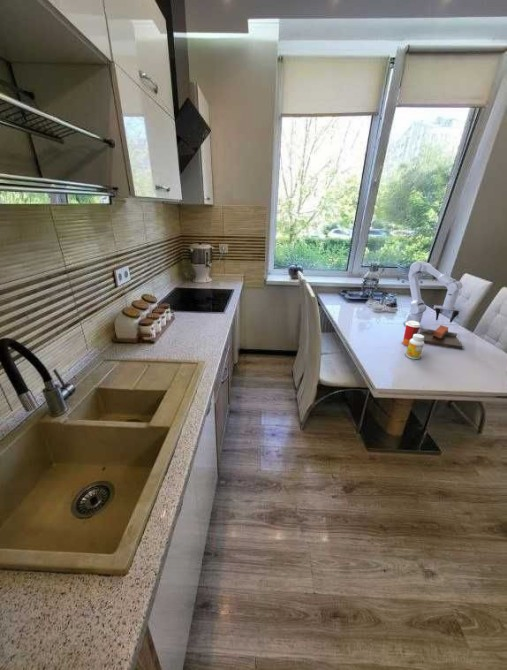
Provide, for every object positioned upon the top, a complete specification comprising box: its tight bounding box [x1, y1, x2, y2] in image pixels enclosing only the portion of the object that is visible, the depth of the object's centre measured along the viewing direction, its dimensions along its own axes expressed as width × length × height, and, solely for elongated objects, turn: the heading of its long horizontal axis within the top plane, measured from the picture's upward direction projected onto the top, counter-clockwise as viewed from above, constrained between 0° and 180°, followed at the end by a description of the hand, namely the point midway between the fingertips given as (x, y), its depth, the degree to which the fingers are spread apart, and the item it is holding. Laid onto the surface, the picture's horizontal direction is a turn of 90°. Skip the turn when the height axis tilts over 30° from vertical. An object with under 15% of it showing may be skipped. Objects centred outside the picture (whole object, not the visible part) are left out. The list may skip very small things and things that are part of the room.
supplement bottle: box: [405, 333, 425, 360], centre depth 150 cm, size 7×7×13 cm
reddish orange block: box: [433, 325, 449, 340], centre depth 171 cm, size 11×4×4 cm, turn 130°
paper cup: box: [402, 321, 422, 347], centre depth 164 cm, size 8×8×14 cm
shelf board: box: [419, 327, 464, 350], centre depth 171 cm, size 20×16×4 cm
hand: (443, 321), depth 177 cm, fingers open, 7 cm apart
